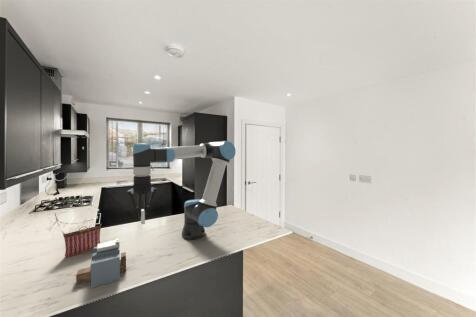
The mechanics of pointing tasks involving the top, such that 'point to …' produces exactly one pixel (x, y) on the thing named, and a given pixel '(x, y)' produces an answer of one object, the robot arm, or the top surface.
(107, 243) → the keeper
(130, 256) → the top surface
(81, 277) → the wooden bar
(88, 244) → the handbag
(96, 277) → the block
